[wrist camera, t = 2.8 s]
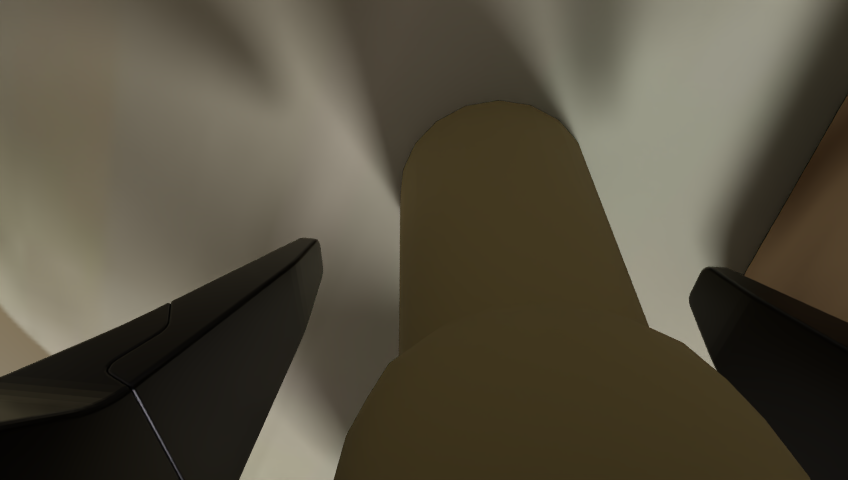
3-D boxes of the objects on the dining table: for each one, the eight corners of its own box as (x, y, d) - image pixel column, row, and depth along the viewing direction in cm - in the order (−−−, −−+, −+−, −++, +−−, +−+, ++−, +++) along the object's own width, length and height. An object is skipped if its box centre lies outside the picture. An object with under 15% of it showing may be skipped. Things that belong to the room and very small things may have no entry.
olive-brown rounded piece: (367, 213, 13) (144, 706, 4) (476, 54, 10) (621, 444, 1) (502, 298, 15) (579, 809, 5) (630, 177, 12) (1275, 810, 2)
